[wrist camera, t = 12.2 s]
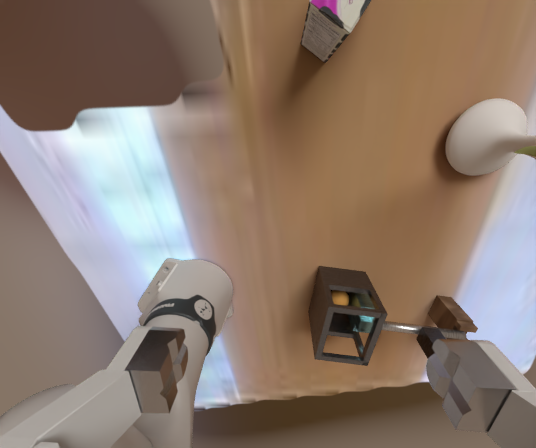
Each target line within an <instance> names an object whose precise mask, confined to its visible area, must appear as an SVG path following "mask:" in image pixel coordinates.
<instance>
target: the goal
mask: <svg viewBox="0 0 536 448" xmlns="http://www.w3.org/2000/svg"><path fill="white" fill-rule="evenodd" d="M330 289H331V290H339V291H347V292H355V293H363V294H368V295H369V297H370V299H371V301H372V303H373V305H374V308H375V309H369V308H362V307H354V306H346V305H338V304H334V302H333V298H332V295H331V291H330ZM347 314H352V315H359V316H367V317H375V320H374V322H373V325H372V328H371V331H370V333H369V336H368V339H367V341H366V344H365V347H364V346H363V343H362V341H361V338H360V335H359V332H357V331H352V327H351V324H350V321H349V318H348V315H347ZM386 316H387V312H386V310H385V308H384V307H383V305H382V303H381V301H380V299H379V297H378V295H377V293H376V291H375V289H374V287H373V285H372V284H371V282H370V280H369V278H368V276H367V274H366V272H363V271H355V270H347V269H339V268H331V267H323V266H319V268H318V272H317V277H316V281H315V285H314V290H313V294H312V298H311V303H310V307H309V320H310V327H311V335H312V342H313V350H314V357H315V359H318V360H326V361H334V362H342V363H350V364H357V365H365V366H367V365H368V363H369V360H370V358H371V355H372V353H373V350H374V347H375V345H376V342H377V340H378V337H379V335H380V332H381V329H382V327H383V324H384V322H385V319H386ZM327 335H331V336H339V337H347V338H353V339H354V342H355V345H356V348H357V351H358V354H359V357H356V356H348V355H340V354H332V353H324V352H323V348H324V345H325V341H326V338H327Z"/></svg>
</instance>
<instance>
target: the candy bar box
mask: <svg viewBox="0 0 536 448" xmlns="http://www.w3.org/2000/svg"><path fill="white" fill-rule="evenodd" d="M370 2H371V0H310V1H309V6H308V11H307V16H306V20H305V26H304V30H303V35H302V40H301V45H303V46H304V47H305V48H306V49H308V50H310V51H311V52H312V53H313V54H315V55H316V56H317V57H318V58H320V59H321V60H322V61H323V62H325V63H326V62H327V61H328V59H329V58H330V57H331V56H332V55H333V53H334V52H335V51H336V50H337V49H338V47H339V46H340V45H341V44H342V42H343V41H344V40H345V38H346V37H347V36H348V35H349V34H350V33H351V32H352V30H353V28H354V27H355V25H356V24H357V22H358V21H359V19H360V17H361V16H362V14H363V13H364V11H365V9H366V8H367V6H368V5H369V3H370Z"/></svg>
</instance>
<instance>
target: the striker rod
mask: <svg viewBox="0 0 536 448" xmlns="http://www.w3.org/2000/svg"><path fill="white" fill-rule="evenodd" d="M347 306H354V307H362V308H369V309H375V308H374V305H373V303H372V301H371V299H370V297H369V295H368V294H363V293H355V292H350V293H349V303H348V305H347ZM347 315H348V318H349V321H350V324H351V327H352V331H357V332H365V333H370V331H371V328H372V325H373V322H374V320H375V317H367V316H359V315H352V314H347ZM381 330H387V331H395V332H403V333H411V334H418V336H417V341H418V343H419V345H420V346H421V348H422V350H423V351H424V353H425V355H426V356H427V358H429V357H430V356H432V355H433V354H434V353H435V352H434V350H433V349H432V346H433V344H434V342H435V341H436V340H437V339H446V338H451V339H459V340H465V339H466V334H465V332H464V331H459V330H452V329H444V328H436V327H429V326H421V325H413V324H405V323H397V322H389V321H385V322H384V324H383V327H382V329H381Z"/></svg>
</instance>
